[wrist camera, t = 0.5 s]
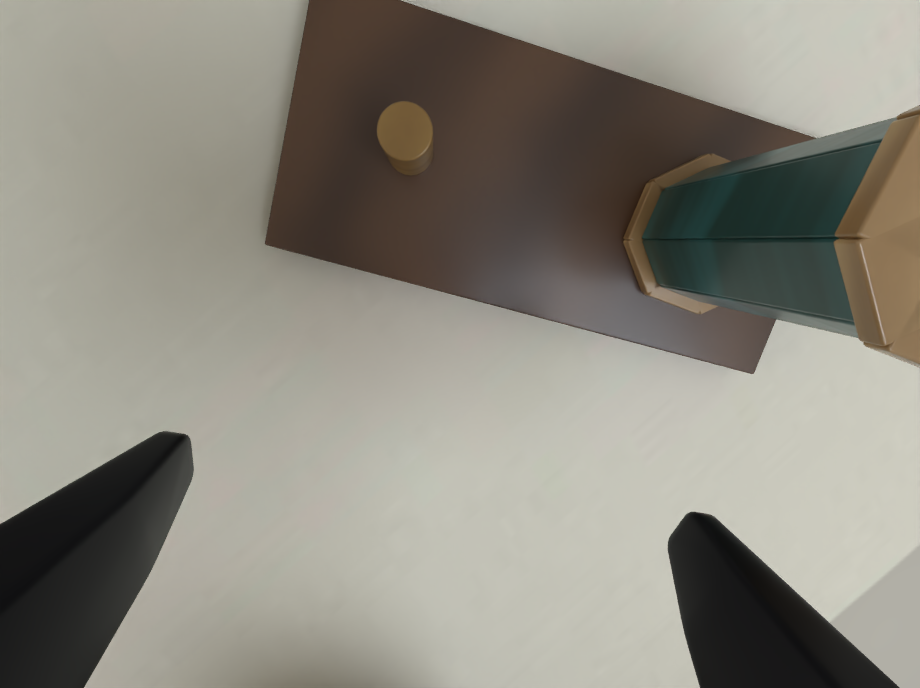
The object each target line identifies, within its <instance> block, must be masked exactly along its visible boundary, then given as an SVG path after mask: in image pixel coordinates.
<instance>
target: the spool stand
mask: <svg viewBox="0 0 920 688" xmlns="http://www.w3.org/2000/svg"><path fill="white" fill-rule="evenodd" d="M813 139H817V138H814V137H811V136H808V135H805V134H802V133H799V132H796V131H793V130H790V129H787V128H783V127H780V126H777V125H774V124H771V123H768V122H765V121H762V120H759V119H756V118H753V117H750V116H747V115H744V114H741V113H738V112H735V111H732V110H729V109H726V108H723V107H720V106H717V105H714V104H711V103H708V102H705V101H702V100H699V99H696V98H693V97H690V96H687V95H684V94H681V93H678V92H675V91H672V90H669V89H666V88H663V87H660V86H657V85H654V84H651V83H648V82H645V81H642V80H639V79H636V78H633V77H630V76H627V75H624V74H621V73H617V72H614V71H611V70H608V69H605V68H602V67H599V66H596V65H593V64H590V63H587V62H584V61H581V60H578V59H575V58H572V57H569V56H566V55H563V54H560V53H557V52H554V51H551V50H548V49H545V48H542V47H539V46H536V45H533V44H530V43H527V42H524V41H521V40H518V39H515V38H512V37H509V36H506V35H503V34H500V33H497V32H494V31H491V30H488V29H485V28H482V27H479V26H476V25H473V24H470V23H467V22H464V21H461V20H458V19H455V18H452V17H448V16H445V15H442V14H439V13H436V12H433V11H430V10H427V9H424V8H421V7H418V6H415V5H412V4H409V3H406V2H403V1H400V0H309V5H308V11H307V16H306V22H305V27H304V33H303V38H302V44H301V49H300V54H299V60H298V65H297V71H296V76H295V82H294V87H293V93H292V98H291V104H290V109H289V115H288V120H287V125H286V131H285V136H284V142H283V147H282V153H281V158H280V164H279V169H278V175H277V180H276V186H275V191H274V196H273V202H272V207H271V213H270V218H269V224H268V229H267V235H266V240H265V244H266V245H268V246H272V247H276V248H279V249H283V250H287V251H291V252H295V253H298V254H302V255H306V256H310V257H313V258H317V259H321V260H325V261H328V262H332V263H336V264H340V265H343V266H347V267H351V268H355V269H359V270H362V271H366V272H370V273H374V274H377V275H381V276H385V277H389V278H392V279H396V280H400V281H404V282H408V283H411V284H415V285H419V286H423V287H426V288H430V289H434V290H438V291H441V292H445V293H449V294H453V295H456V296H460V297H464V298H468V299H472V300H475V301H479V302H483V303H487V304H490V305H494V306H498V307H502V308H505V309H509V310H513V311H517V312H520V313H524V314H528V315H532V316H536V317H539V318H543V319H547V320H551V321H554V322H558V323H562V324H566V325H569V326H573V327H577V328H581V329H585V330H588V331H592V332H596V333H600V334H603V335H607V336H611V337H615V338H618V339H622V340H626V341H630V342H633V343H637V344H641V345H645V346H649V347H652V348H656V349H660V350H664V351H667V352H671V353H675V354H679V355H682V356H686V357H690V358H694V359H698V360H701V361H705V362H709V363H713V364H716V365H720V366H724V367H728V368H731V369H735V370H739V371H743V372H746V373H750V374H754V372H755V369H756V367H757V364H758V362H759V360H760V357H761V355H762V352H763V350H764V347H765V345H766V343H767V340H768V338H769V335H770V333H771V330H772V328H773V326H774V323H775V321H776V319H773V318H768V317H764V316H760V315H755V314H751V313H747V312H742V311H738V310H733V309H729V308H725V307H720V306H718V307H716V308H714V309H711V310H709V311H707V312H705V313H703V314H695V313H691V312H688V311H686V310H683V309H680V308H678V307H675V306H673V305H670V304H667V303H665V302H662V301H659V300H657V299H654V298H652V297H649V296H646V295H644V293H643V292H641V289H640V286H639V284H638V281H637V278H636V275H635V273H634V270H633V267H632V265H631V262H630V259H629V257H628V254H627V251H626V248H625V246H624V243H623V241H624V239H623V237H624V235H625V233H626V230H627V228H628V226H629V223H630V221H631V218H632V216H633V214H634V211H635V209H636V207H637V204H638V202H639V200H640V197H641V195H642V192H643V190H644V188H645V185H646V184H647V183H649V180H651V179H653V178H655V177H657V176H659V175H662V174H664V173H666V172H668V171H670V170H672V169H674V168H676V167H678V166H681V165H683V164H685V163H687V162H689V161H691V160H693V159H695V158H697V157H700V156H702V155H705V154H712V153H713V154H715V155H718V156H720V157H722V158H725V159H727V160H729V161H735V160H739V159H742V158H746V157H750V156H754V155H757V154H761V153H765V152H768V151H772V150H776V149H780V148H783V147H787V146H791V145H795V144H798V143H802V142H806V141H809V140H813Z"/></svg>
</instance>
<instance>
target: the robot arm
mask: <svg viewBox="0 0 920 688" xmlns="http://www.w3.org/2000/svg"><path fill="white" fill-rule="evenodd" d="M193 471H194V466H193V457H192V448H191V441H190V438H189V436H188V435H186V434H181V433H175V432H168V431H163V432H159V433H157V434H155V435H153V436H152V437H150V438H148V439H146V440H145V441H143V442H141V443H139V444H138V445H136V446H134V447H133V448H131V449H129V450H127V451H126V452H124V453H122V454H121V455H119V456H117V457H115V458H114V459H112V460H110V461H108V462H107V463H105V464H103V465H102V466H100V467H98V468H96V469H95V470H93V471H91V472H89V473H88V474H86V475H84V476H83V477H81V478H79V479H77V480H76V481H74V482H72V483H70V484H69V485H67V486H65V487H64V488H62V489H60V490H58V491H57V492H55V493H53V494H51V495H50V496H48V497H46V498H45V499H43V500H41V501H39V502H38V503H36V504H34V505H32V506H31V507H29V508H27V509H26V510H24V511H22V512H20V513H19V514H17V515H15V516H13V517H12V518H10V519H8V520H7V521H5V522H3V523H1V524H0V688H84V687H85V685H86V683H87V681H88V680H89V678H90V676H91V674H92V673H93V671H94V669H95V668H96V666H97V664H98V662H99V661H100V659H101V657H102V655H103V654H104V652H105V650H106V649H107V647H108V645H109V643H110V642H111V640H112V638H113V636H114V635H115V633H116V631H117V630H118V628H119V626H120V624H121V623H122V621H123V619H124V617H125V616H126V614H127V612H128V611H129V609H130V607H131V605H132V604H133V602H134V600H135V598H136V597H137V595H138V593H139V592H140V590H141V588H142V586H143V585H144V583H145V581H146V579H147V577H148V575H149V574H150V572H151V570H152V568H153V565H154V563H155V561H156V559H157V557H158V555H159V553H160V550H161V548H162V546H163V544H164V541H165V539H166V537H167V535H168V532H169V530H170V528H171V526H172V523H173V521H174V519H175V517H176V514H177V512H178V510H179V508H180V505H181V503H182V501H183V499H184V496H185V494H186V492H187V490H188V488H189V485H190V483H191V480H192V477H193ZM668 553H669V558H670V564H671V569H672V574H673V579H674V584H675V589H676V594H677V599H678V604H679V609H680V615H681V620H682V624H683V628H684V633H685V637H686V641H687V644H688V648H689V651H690V655H691V658H692V662H693V665H694V668H695V672H696V675H697V679H698V682H699V685H700V688H899V687H898V686H897V685H896V684H895V683H894V682H893V681H892V680H891V679H890V678H889V677H888V676H886V675H885V674H884V673H883V672H882V671H881V670H880V669H879V668H878V667H877V666H876V665H874V664H873V663H872V662H871V661H870V660H869V659H868V658H867V657H866V656H865V655H864V654H863V653H861V652H860V651H859V650H858V649H857V648H856V647H855V646H854V645H853V644H852V643H851V642H849V641H848V640H847V639H846V638H845V637H844V636H843V635H842V634H841V633H840V632H839V631H838V630H836V628H834V627H833V626H832V625H831V624H830V623H829V622H828V621H827V620H826V619H825V618H824V617H823V616H821V615H820V614H819V613H818V612H817V611H816V610H815V609H814V608H813V607H812V606H811V605H810V604H808V603H807V602H806V601H805V600H804V599H803V598H802V597H801V596H800V595H799V594H798V593H797V592H795V591H794V590H793V589H792V588H791V587H790V586H789V585H788V584H787V583H786V582H785V581H784V580H782V579H781V578H780V577H779V576H778V575H777V574H776V573H775V572H774V571H773V570H772V569H771V568H769V567H768V566H767V565H766V564H765V563H764V562H763V561H762V560H761V559H760V558H759V557H758V556H756V555H755V554H754V553H753V552H752V551H751V550H750V549H749V548H748V547H747V546H746V545H744V544H743V543H742V542H741V541H740V540H739V539H738V538H737V537H736V536H735V535H734V534H733V533H731V532H730V531H729V530H728V529H727V528H726V527H725V526H724V525H723V524H722V523H721V522H720V521H718V520H717V519H716V518H715V517H714V516H712V515H709V514H704V513H698V512H690V513H688V514H686V515H685V517H684V518H683V519H682V521H681V522H680V523H679V525H678V526H677V528H676V529H675V530H674V532H673V533H672V534H671V536H670V538H669V541H668Z"/></svg>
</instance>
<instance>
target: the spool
mask: <svg viewBox="0 0 920 688" xmlns="http://www.w3.org/2000/svg"><path fill="white" fill-rule="evenodd" d="M623 239H624V241H623V243H624V246H625V248H626V251H627V254H628V257H629V259H630V262H631V265H632V267H633V270H634V273H635V275H636V278H637V281H638V284H639V286H640V289H641V292H643V293H644V295H646V296H649V297H652V298H654V299H657V300H659V301H662V302H665V303H667V304H670V305H673V306H675V307H678V308H680V309H683V310H686V311H688V312H691V313H695V314H703V313H705V312H707V311H709V310H711V309H714V308H716V307H718V306H720V307H725V308H729V309H733V310H738V311H742V312H747V313H751V314H755V315H760V316H764V317H768V318H773V319H777V320H782V321H786V322H790V323H795V324H799V325H803V326H808V327H812V328H817V329H821V330H825V331H830V332H834V333H838V334H843V335H847V336H852V337H856V338H859V340H860V341H862V342H864V345H865V346H866V347H868V348H871V349H873V350H876V351H878V352H881V353H884V354H886V355H889V356H891V357H894V358H896V359H899V360H902V361H904V362H907V363H909V364H912V365H914V366H917V367H919V368H920V105H919V106H917V107H914V108H912V109H910V110H908V111H906V112H904V113H902V114H900V115H898V116H897V117H895V118H891V119H888V120H884V121H880V122H877V123H873V124H869V125H865V126H862V127H858V128H854V129H850V130H847V131H843V132H839V133H836V134H832V135H828V136H824V137H821V138H817V139H813V140H809V141H806V142H802V143H798V144H795V145H791V146H787V147H783V148H780V149H776V150H772V151H768V152H765V153H761V154H757V155H754V156H750V157H746V158H742V159H739V160H735V161H729V160H727V159H725V158H722V157H720V156H718V155H715V154H713V153H712V154H705V155H702V156H700V157H697V158H695V159H693V160H691V161H689V162H687V163H685V164H683V165H681V166H678V167H676V168H674V169H672V170H670V171H668V172H666V173H664V174H662V175H659V176H657V177H655V178H653V179H651V180H649V183H647V184H646V185H645V188H644V190H643V192H642V195H641V197H640V200H639V202H638V204H637V207H636V209H635V211H634V214H633V216H632V218H631V221H630V223H629V226H628V228H627V230H626V233H625V235H624V237H623Z"/></svg>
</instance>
